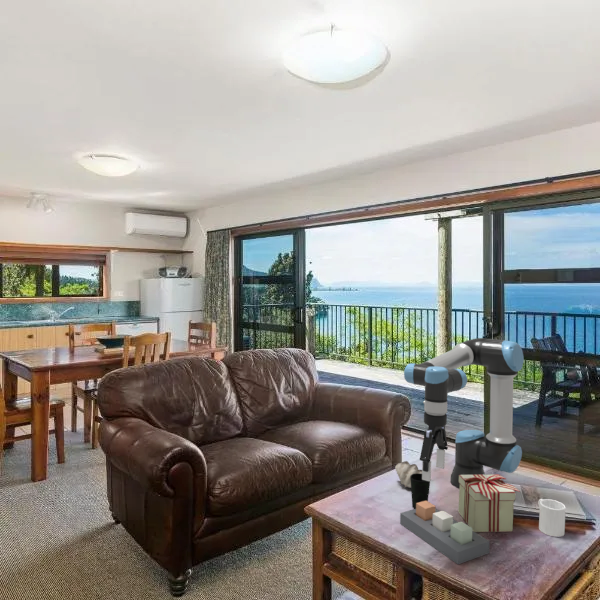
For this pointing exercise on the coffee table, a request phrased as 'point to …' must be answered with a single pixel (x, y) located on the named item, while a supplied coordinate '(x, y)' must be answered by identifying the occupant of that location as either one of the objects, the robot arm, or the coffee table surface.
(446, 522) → the ivory key
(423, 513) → the peach cube
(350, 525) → the coffee table surface
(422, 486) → the cup
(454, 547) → the key panel
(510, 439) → the robot arm
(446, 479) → the coffee table surface
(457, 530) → the sage key
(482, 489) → the gift box
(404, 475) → the seashell
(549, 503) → the mug
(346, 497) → the coffee table surface
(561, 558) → the coffee table surface
